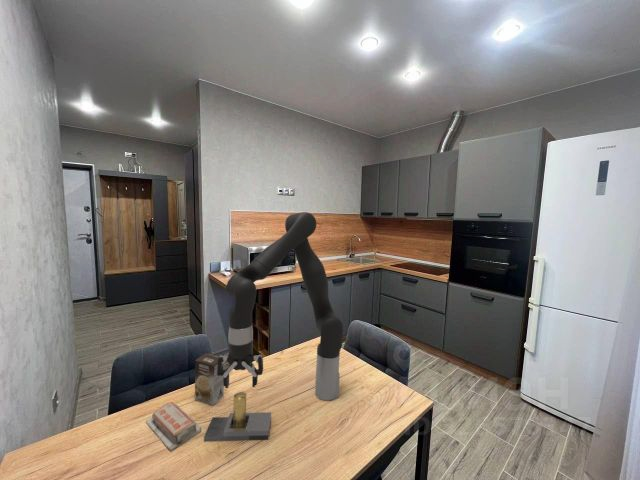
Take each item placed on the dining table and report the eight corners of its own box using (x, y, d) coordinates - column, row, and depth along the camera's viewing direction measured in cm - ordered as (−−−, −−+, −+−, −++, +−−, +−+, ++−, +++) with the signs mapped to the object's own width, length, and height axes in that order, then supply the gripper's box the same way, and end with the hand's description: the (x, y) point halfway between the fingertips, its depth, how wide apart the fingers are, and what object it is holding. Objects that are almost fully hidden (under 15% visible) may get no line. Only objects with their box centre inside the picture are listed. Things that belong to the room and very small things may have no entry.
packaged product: (202, 418, 86) (170, 438, 78) (202, 432, 86) (170, 453, 78) (175, 395, 96) (145, 410, 88) (175, 407, 96) (145, 423, 88)
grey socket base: (271, 420, 92) (271, 412, 91) (268, 439, 84) (268, 430, 83) (212, 421, 90) (212, 413, 90) (203, 441, 82) (204, 432, 82)
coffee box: (193, 400, 100) (193, 359, 99) (206, 390, 106) (206, 352, 105) (213, 406, 97) (213, 365, 96) (224, 395, 103) (225, 356, 102)
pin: (246, 425, 89) (247, 391, 88) (244, 434, 85) (244, 400, 84) (234, 425, 89) (235, 392, 88) (231, 435, 85) (232, 400, 84)
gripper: (264, 333, 88) (264, 378, 90) (221, 333, 87) (221, 379, 89) (261, 343, 81) (261, 393, 82) (214, 344, 80) (214, 394, 81)
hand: (240, 386), depth 85 cm, fingers open, 8 cm apart
